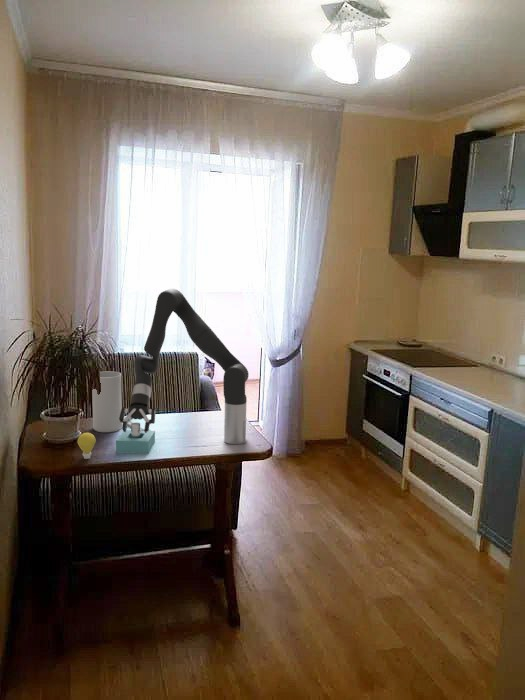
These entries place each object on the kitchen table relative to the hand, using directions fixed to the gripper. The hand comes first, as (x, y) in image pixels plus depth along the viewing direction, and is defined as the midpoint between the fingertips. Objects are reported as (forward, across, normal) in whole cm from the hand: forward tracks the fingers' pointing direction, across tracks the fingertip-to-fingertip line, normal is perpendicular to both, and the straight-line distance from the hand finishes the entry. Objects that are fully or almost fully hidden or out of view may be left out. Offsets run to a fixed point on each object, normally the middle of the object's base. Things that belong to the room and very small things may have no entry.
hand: (135, 431), depth 228 cm
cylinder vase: (-12, -18, +22) cm, 31 cm away
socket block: (+4, 0, +6) cm, 7 cm away
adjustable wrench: (-12, -5, +23) cm, 27 cm away
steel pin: (+4, 0, +6) cm, 7 cm away
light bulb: (+14, -16, -3) cm, 21 cm away
